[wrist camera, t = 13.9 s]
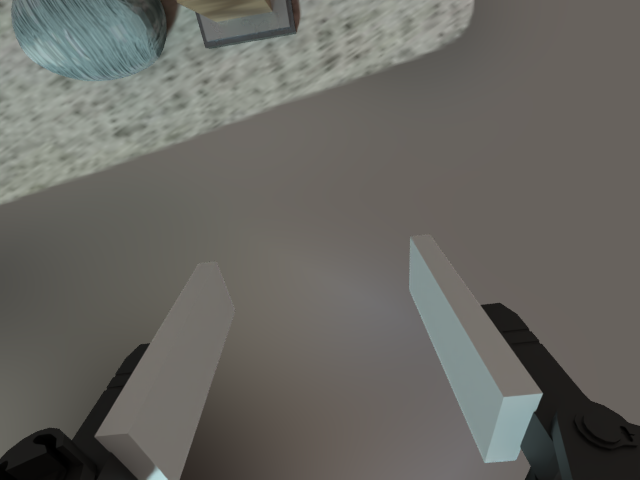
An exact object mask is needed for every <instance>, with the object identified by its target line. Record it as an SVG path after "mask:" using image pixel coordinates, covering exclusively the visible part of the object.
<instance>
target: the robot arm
mask: <svg viewBox="0 0 640 480" xmlns="http://www.w3.org/2000/svg"><path fill="white" fill-rule="evenodd" d="M409 290H410V293H411V295H412V297H413V300H414V302H415V304H416V307H417V309H418V311H419V313H420V316H421V318H422V320H423V323H424V325H425V327H426V330H427V332H428V334H429V337H430V339H431V341H432V343H433V346H434V348H435V350H436V353H437V355H438V357H439V359H440V362H441V364H442V366H443V368H444V371H445V373H446V376H447V378H448V380H449V382H450V385H451V387H452V389H453V392H454V394H455V396H456V399H457V401H458V403H459V405H460V408H461V410H462V412H463V415H464V417H465V419H466V422H467V424H468V426H469V428H470V431H471V433H472V435H473V437H474V440H475V442H476V444H477V446H478V449H479V451H480V454H481V456H482V458H483V460H484V463H489V462H501V461H512V460H516V459H517V457H518V454H519V452H520V449H522V451H523V453H524V455H525V456H526V458H527V460H528V462H529V464H530V465H531V467H530V470H529V472H528V474H527V476H526V478H525V480H640V426H638V425H634V424H631V423H628V422H627V421H626V420H625V419H624V418H623V417H622V416H620V415H619V414H617V413H615V412H614V411H612V410H610V409H609V408H607V407H605V406H604V405H601V404H598V403H595V402H592V401H590V400H589V399H588V398H587V397H586V396H585V395H584V394H583V393H582V391H581V390H580V389H579V388H578V387H577V385H576V384H575V383H574V382H573V381H572V379H571V378H570V377H569V376H568V375H567V374H566V372H565V371H564V370H563V369H562V367H561V366H560V365H559V364H558V363H557V361H556V360H555V359H554V358H553V357H552V356H551V354H550V353H549V352H548V351H547V349H546V348H545V347H544V346H543V345H542V344H540V343H539V340H538V339H537V338H536V336H535V335H534V334H533V333H532V332H530V331H529V328H528V327H527V326H526V324H525V323H524V322H523V321H522V320H521V318H520V317H519V316H518V315H517V314H516V313H514V312H513V311H511V310H510V309H508V308H507V307H505V306H504V305H502V304H501V303H495V304H486V305H480V304H479V303H478V301H477V300H476V298H475V297H474V296H473V294H472V293H471V292H470V290H469V289H468V287H467V286H466V284H465V283H464V282H463V280H462V279H461V277H460V276H459V275H458V273H457V272H456V270H455V269H454V267H453V266H452V265H451V263H450V262H449V260H448V259H447V258H446V256H445V255H444V254H443V252H442V251H441V249H440V248H439V246H438V245H437V244H436V242H435V241H434V239H433V238H432V237H431V235H430V234H427V235H419V236H411V237H410V282H409ZM234 312H235V309H234V306H233V303H232V301H231V298H230V295H229V293H228V290H227V288H226V285H225V283H224V280H223V277H222V274H221V272H220V269H219V266H218V264H217V261H214V262H206V263H199V264H198V265H197V267H196V268H195V270H194V272H193V273H192V275H191V277H190V279H189V280H188V282H187V283H186V285H185V287H184V288H183V290H182V292H181V293H180V295H179V297H178V298H177V300H176V302H175V303H174V305H173V307H172V309H171V310H170V312H169V313H168V315H167V317H166V318H165V320H164V322H163V323H162V325H161V327H160V328H159V330H158V332H157V333H156V335H155V337H154V338H153V340H152V341H151V343H149V344H141V345H139V346H138V347H137V348H136V349H135V350H134V351H133V352H132V353H131V354H130V355H129V356H128V357H127V358H126V359H125V360H124V362H123V363H122V365H121V367H120V368H119V369H118V371H117V372H116V376H115V377H113V378H112V380H111V381H110V383H109V385H108V386H107V390H106V391H104V392H103V394H102V395H101V397H100V398H99V400H98V401H97V403H96V405H95V406H94V408H93V409H92V410H91V412H90V414H89V415H88V417H87V418H86V420H85V421H84V423H83V424H82V426H81V427H80V429H79V430H78V432H77V433H76V435H75V437H74V438H73V439H72V440H71V439H69V438H68V437H67V436H66V435H65V434H64V433H63V432H62V431H61V430H60V429H57V428H56V429H55V428H47V429H44V430H40V431H37V432H35V433H33V434H31V435H30V436H28V437H26V438H24V439H23V440H21V441H20V442H19V443H17V444H16V445H15V446H13V447H12V448H11V449H10V450H8V451H7V452H6V453H5V454H4V455H3V456H2V457H1V459H0V480H179V479H180V476H181V473H182V470H183V467H184V464H185V461H186V458H187V455H188V452H189V449H190V446H191V443H192V440H193V437H194V434H195V431H196V428H197V424H198V422H199V419H200V416H201V413H202V409H203V407H204V403H205V401H206V398H207V395H208V391H209V389H210V385H211V382H212V379H213V376H214V373H215V370H216V367H217V364H218V361H219V358H220V355H221V352H222V349H223V346H224V343H225V340H226V337H227V334H228V331H229V328H230V325H231V322H232V319H233V316H234Z"/></svg>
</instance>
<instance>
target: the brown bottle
mask: <svg viewBox="0 0 640 480" xmlns="http://www.w3.org/2000/svg"><path fill="white" fill-rule="evenodd" d="M177 3H179V4H181V5H183V6H185V7H187V8H189V9H191V10H193V11H195V12H197V13H199V14H201V15H203V16H205V17H207V18H209V19H211V20H213V21H215V22H220V21H225V20H230V19H236V18H241V17H246V16H252V15H257V14H262V13H268V12H273V11H272V6H271V1H270V0H177Z"/></svg>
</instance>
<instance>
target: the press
mask: <svg viewBox="0 0 640 480" xmlns="http://www.w3.org/2000/svg"><path fill="white" fill-rule="evenodd" d="M270 1H271V6H272V11H273V12H268V13H262V14H257V15H252V16H246V17H241V18H236V19H230V20H225V21H220V22H215V21H213V20H211V19H209V18H207V17H205V16H203V15H201V14H199V13H197V12H195V13H196V16H197V20H198V23H199V27H200V30H201V34H202V37H203V41H204V44H205V48H209V49H211V48H217V47H223V46H228V45H234V44H240V43H246V42H251V41H257V40H263V39H269V38H274V37H280V36H286V35H292V34H296V29H295V22H294V15H293V9H292V2H291V0H270Z"/></svg>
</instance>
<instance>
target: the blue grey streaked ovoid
mask: <svg viewBox="0 0 640 480" xmlns="http://www.w3.org/2000/svg"><path fill="white" fill-rule="evenodd" d="M11 10H12V24H13V28H14V32H15V35H16V38H17V40H18V42H19V44H20V46H21V47H22V49H23V50H24V52H25V53H26V54H27V55H28V56H29V57H30V58H31V59H32V60H33V61H34V62H35V63H37V64H39V65H40V66H42V67H44V68H46V69H48V70H50V71H52V72H54V73H57V74H60V75H63V76H66V77H70V78H74V79H78V80H86V81H104V80H113V79H118V78H123V77H126V76H129V75H132V74H135V73H137V72H139V71H141V70H144V69H146V68H147V67H149V66H150V65H151V64H153V63H154V62H155V61H156V60H157V59H158V58H159V56H160V54H161V52H162V50H163V48H164V45H165V41H166V16H165V12H164V9H163V6H162V4H161V1H160V0H13V2H12V9H11Z"/></svg>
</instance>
